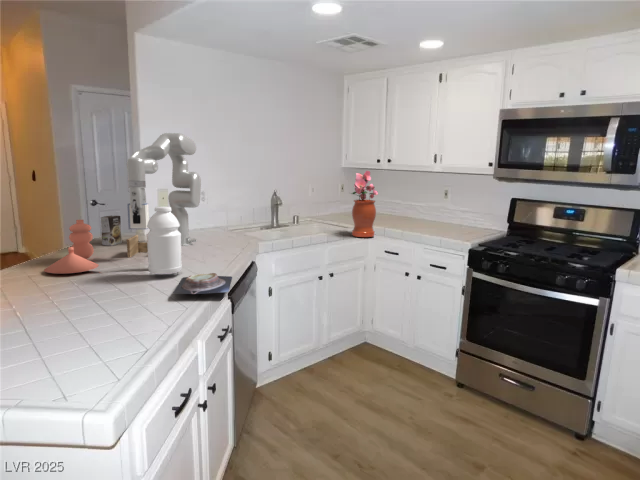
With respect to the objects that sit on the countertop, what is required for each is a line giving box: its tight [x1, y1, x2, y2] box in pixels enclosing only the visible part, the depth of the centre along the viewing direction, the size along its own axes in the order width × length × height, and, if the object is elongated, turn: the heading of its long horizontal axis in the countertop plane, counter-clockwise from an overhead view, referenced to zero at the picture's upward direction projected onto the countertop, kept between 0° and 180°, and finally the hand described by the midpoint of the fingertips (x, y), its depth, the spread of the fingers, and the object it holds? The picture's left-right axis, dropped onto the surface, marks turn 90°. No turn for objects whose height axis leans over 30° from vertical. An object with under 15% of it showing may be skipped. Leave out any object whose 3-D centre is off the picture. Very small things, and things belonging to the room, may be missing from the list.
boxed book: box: [126, 202, 150, 230], centre depth 203 cm, size 8×5×12 cm, turn 96°
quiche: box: [172, 272, 233, 295], centre depth 166 cm, size 21×20×4 cm
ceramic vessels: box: [43, 219, 99, 275], centre depth 193 cm, size 35×21×19 cm, turn 17°
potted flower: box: [349, 170, 379, 238], centre depth 292 cm, size 19×25×45 cm
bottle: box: [146, 205, 183, 275], centre depth 184 cm, size 14×14×28 cm
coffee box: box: [100, 215, 123, 246], centre depth 242 cm, size 9×6×16 cm
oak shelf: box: [126, 234, 148, 259], centre depth 217 cm, size 14×15×9 cm
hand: (138, 222), depth 204 cm, fingers closed on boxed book, 5 cm apart
